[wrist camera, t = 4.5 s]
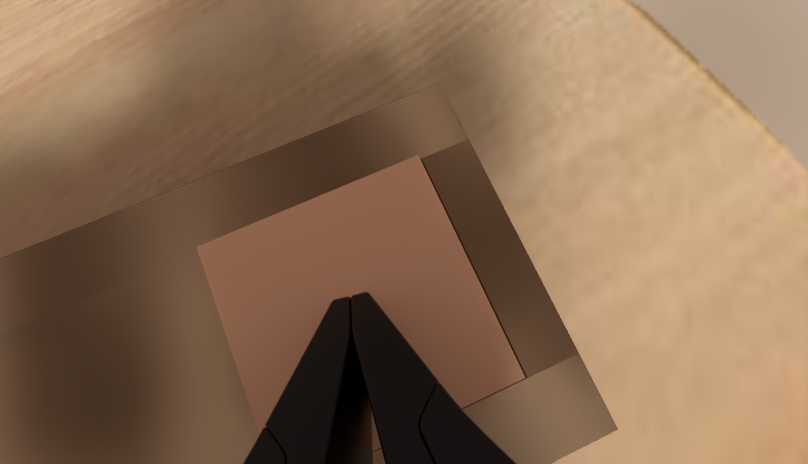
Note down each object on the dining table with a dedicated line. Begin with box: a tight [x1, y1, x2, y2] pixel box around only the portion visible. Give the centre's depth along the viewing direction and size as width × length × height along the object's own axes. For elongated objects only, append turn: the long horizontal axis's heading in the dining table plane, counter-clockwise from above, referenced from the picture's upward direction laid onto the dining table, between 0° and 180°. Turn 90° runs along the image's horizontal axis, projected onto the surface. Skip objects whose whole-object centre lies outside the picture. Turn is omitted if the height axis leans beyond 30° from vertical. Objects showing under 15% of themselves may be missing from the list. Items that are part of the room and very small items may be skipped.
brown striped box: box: [0, 83, 618, 464], centre depth 14 cm, size 24×11×7 cm, turn 114°
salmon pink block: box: [196, 155, 525, 451], centre depth 13 cm, size 6×6×7 cm
